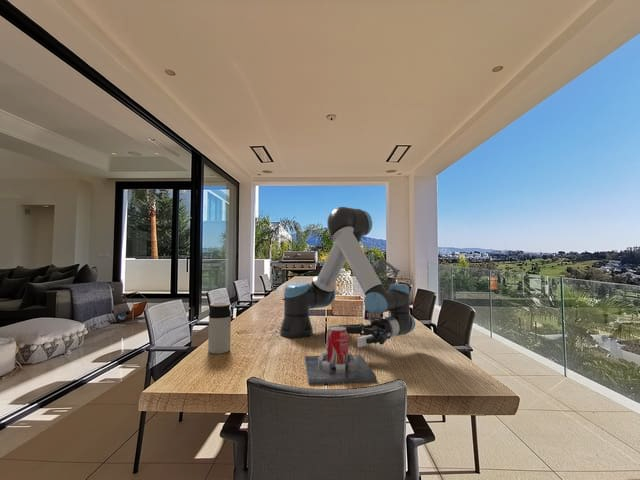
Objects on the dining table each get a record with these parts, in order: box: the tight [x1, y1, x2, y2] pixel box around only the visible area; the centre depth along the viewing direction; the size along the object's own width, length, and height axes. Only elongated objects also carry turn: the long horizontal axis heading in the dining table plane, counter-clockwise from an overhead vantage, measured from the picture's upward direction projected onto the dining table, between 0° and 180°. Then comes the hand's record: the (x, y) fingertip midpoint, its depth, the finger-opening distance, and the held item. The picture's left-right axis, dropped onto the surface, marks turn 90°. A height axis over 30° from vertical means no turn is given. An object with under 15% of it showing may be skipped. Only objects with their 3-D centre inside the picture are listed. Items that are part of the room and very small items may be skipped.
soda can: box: [325, 325, 349, 368], centre depth 102 cm, size 7×7×12 cm
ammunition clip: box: [363, 307, 384, 320], centre depth 182 cm, size 11×2×12 cm, turn 92°
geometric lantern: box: [367, 258, 401, 324], centre depth 158 cm, size 16×16×35 cm
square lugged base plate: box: [304, 352, 377, 385], centre depth 102 cm, size 20×20×4 cm
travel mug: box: [207, 301, 232, 355], centre depth 121 cm, size 8×8×18 cm
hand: (342, 337), depth 104 cm, fingers open, 13 cm apart
